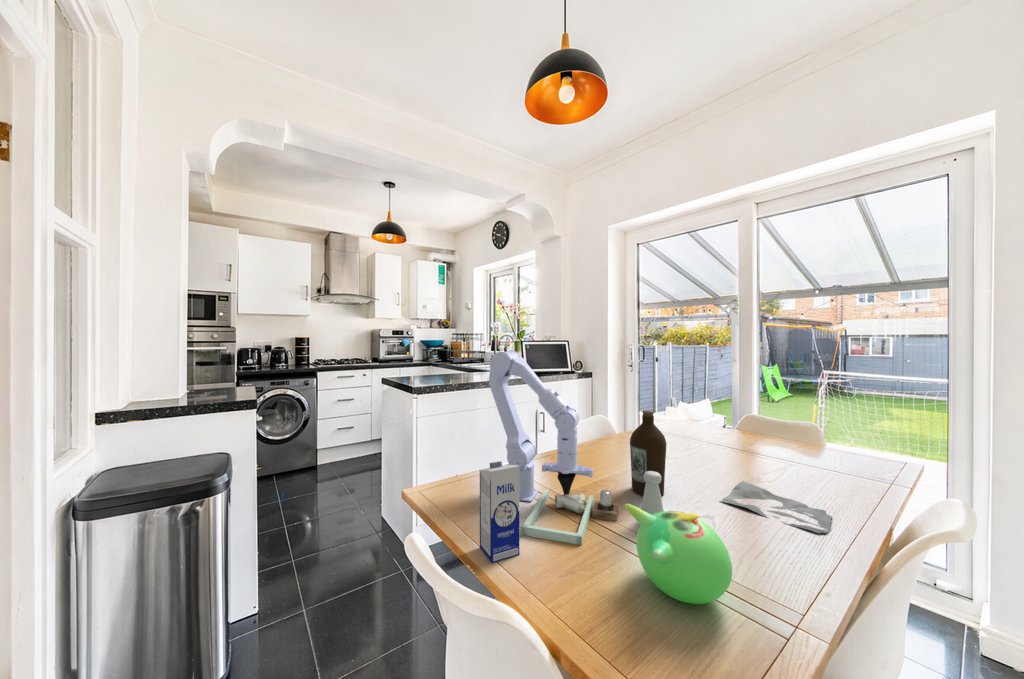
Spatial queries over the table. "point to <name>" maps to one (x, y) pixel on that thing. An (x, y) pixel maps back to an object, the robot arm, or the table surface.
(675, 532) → the toy bird
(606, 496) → the pin
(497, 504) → the milk carton
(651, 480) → the salt shaker
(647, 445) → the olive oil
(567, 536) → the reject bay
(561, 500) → the pipe fitting
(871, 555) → the table surface
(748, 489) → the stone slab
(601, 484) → the table surface
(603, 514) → the tan square frame
